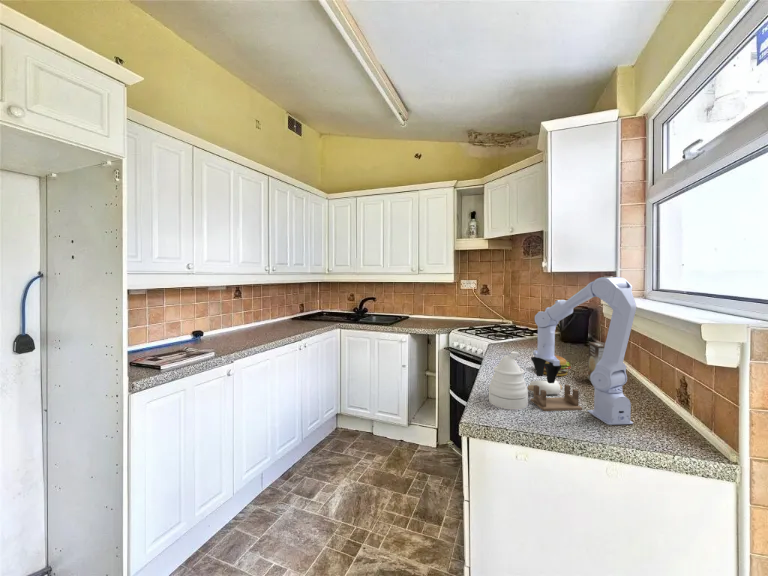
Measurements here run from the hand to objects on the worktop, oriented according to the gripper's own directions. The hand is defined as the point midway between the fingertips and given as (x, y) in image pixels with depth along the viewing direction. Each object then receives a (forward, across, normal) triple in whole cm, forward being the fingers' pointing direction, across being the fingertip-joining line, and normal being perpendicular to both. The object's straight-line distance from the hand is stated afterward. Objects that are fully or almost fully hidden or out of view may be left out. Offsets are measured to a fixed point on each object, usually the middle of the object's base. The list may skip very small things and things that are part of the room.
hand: (545, 379), depth 122 cm
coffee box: (+6, -10, +29) cm, 31 cm away
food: (+6, -25, +18) cm, 31 cm away
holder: (+6, +10, -2) cm, 12 cm away
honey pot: (+6, +6, -17) cm, 19 cm away
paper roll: (+3, 0, 0) cm, 3 cm away
